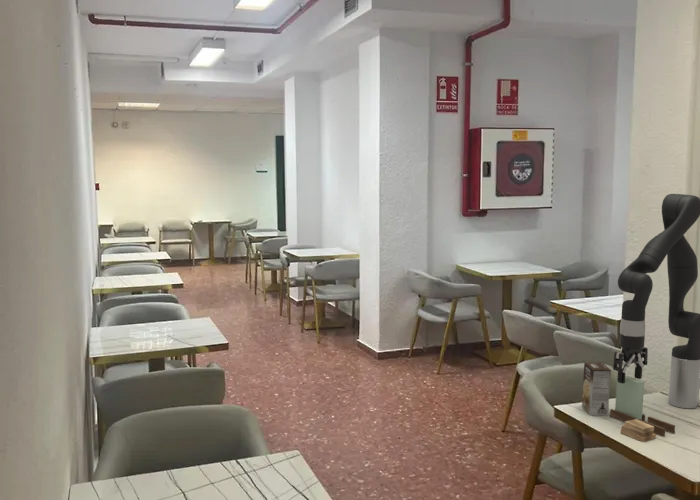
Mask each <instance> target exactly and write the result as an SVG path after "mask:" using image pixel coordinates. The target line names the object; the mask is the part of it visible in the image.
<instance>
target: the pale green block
mask: <svg viewBox="0 0 700 500" xmlns="http://www.w3.org/2000/svg"><path fill="white" fill-rule="evenodd" d="M644 393H645V381H644V380H642V379H637V378H635V377H631V376H629V375H625V383H623V384H622V383H619V382H618V375H617V376H616V389H615V403H614V404H615V405H614V406H615V409H614V410H616V411H619V412H621V413H624V414H627V415H630V416H632V417H635V418H636V419H637V420H639V419H641V420H642V414H643V409H644V408H643V406H644Z"/></svg>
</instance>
